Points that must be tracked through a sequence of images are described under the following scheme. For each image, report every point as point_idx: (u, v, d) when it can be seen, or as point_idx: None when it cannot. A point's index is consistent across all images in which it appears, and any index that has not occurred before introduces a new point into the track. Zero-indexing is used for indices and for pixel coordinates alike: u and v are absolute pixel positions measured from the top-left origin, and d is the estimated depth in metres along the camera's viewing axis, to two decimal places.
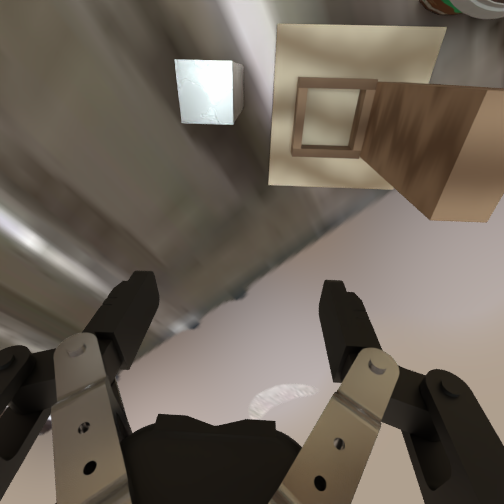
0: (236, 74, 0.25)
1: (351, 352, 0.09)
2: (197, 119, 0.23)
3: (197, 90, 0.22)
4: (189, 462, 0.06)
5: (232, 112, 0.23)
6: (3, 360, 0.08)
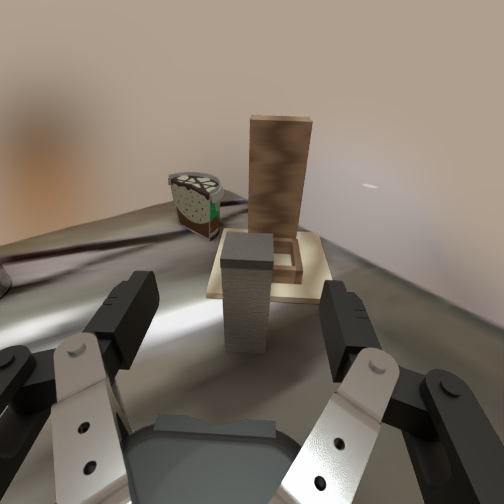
0: None
1: (351, 352, 0.09)
2: (269, 251, 0.24)
3: (245, 249, 0.24)
4: (189, 462, 0.06)
5: (263, 234, 0.26)
6: (3, 360, 0.08)
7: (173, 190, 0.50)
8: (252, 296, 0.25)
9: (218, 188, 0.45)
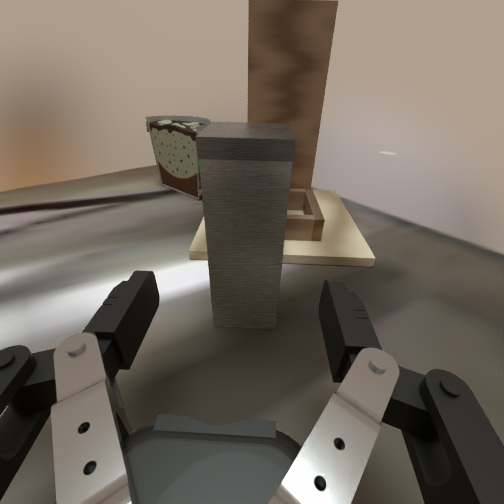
0: None
1: (351, 352, 0.09)
2: (286, 133, 0.13)
3: (243, 131, 0.13)
4: (189, 462, 0.06)
5: None
6: (3, 360, 0.08)
7: (153, 138, 0.40)
8: (256, 221, 0.14)
9: None
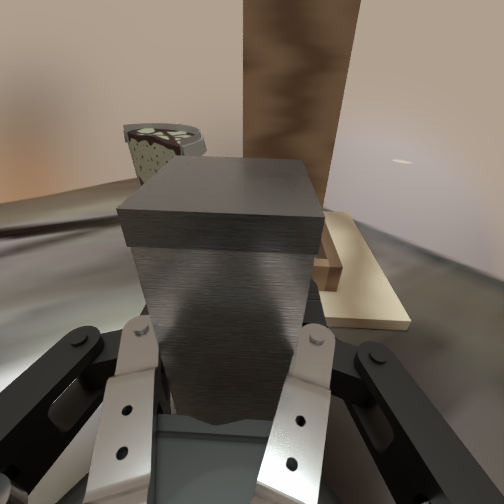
0: None
1: None
2: (302, 191, 0.07)
3: (220, 186, 0.07)
4: (189, 462, 0.06)
5: None
6: (78, 338, 0.09)
7: (132, 150, 0.34)
8: (245, 338, 0.08)
9: (196, 138, 0.28)
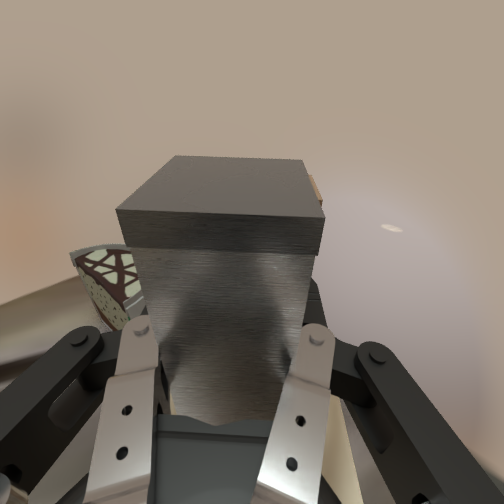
0: None
1: None
2: (302, 191, 0.07)
3: (219, 186, 0.07)
4: (189, 462, 0.06)
5: None
6: (78, 338, 0.09)
7: (81, 275, 0.30)
8: (245, 338, 0.08)
9: None
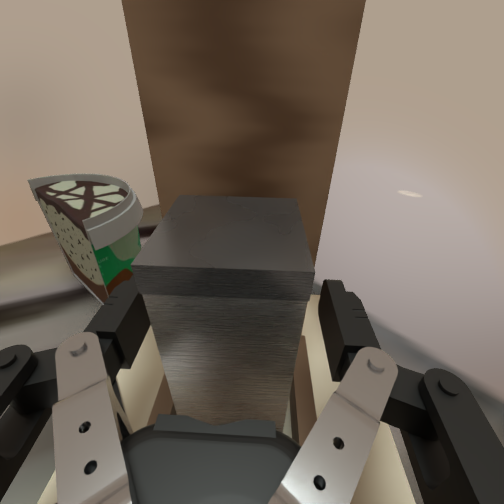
0: None
1: (350, 351, 0.09)
2: (295, 240, 0.08)
3: (221, 234, 0.08)
4: (189, 462, 0.06)
5: None
6: (5, 359, 0.08)
7: (45, 212, 0.24)
8: (245, 367, 0.09)
9: (116, 212, 0.19)
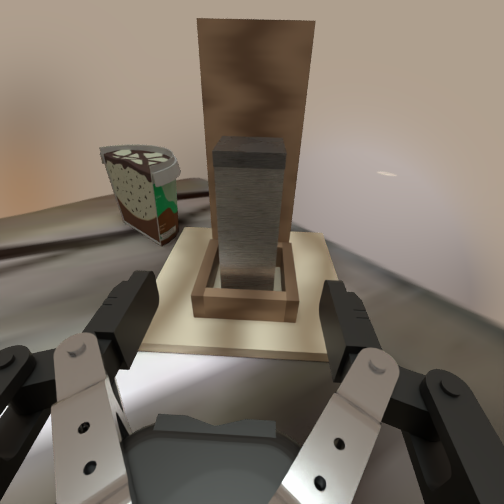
0: None
1: (351, 352, 0.09)
2: (280, 147, 0.17)
3: (247, 145, 0.18)
4: (189, 462, 0.06)
5: None
6: (3, 360, 0.08)
7: (109, 171, 0.34)
8: (256, 214, 0.19)
9: (167, 164, 0.29)
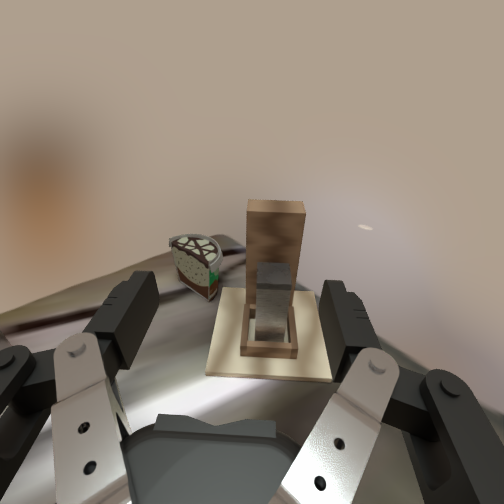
0: None
1: (351, 352, 0.09)
2: (288, 277, 0.35)
3: (272, 275, 0.36)
4: (189, 462, 0.06)
5: (282, 263, 0.38)
6: (3, 360, 0.08)
7: (173, 252, 0.52)
8: (276, 307, 0.37)
9: (217, 256, 0.47)
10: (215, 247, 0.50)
